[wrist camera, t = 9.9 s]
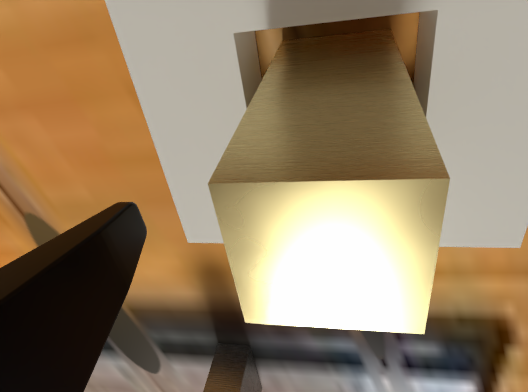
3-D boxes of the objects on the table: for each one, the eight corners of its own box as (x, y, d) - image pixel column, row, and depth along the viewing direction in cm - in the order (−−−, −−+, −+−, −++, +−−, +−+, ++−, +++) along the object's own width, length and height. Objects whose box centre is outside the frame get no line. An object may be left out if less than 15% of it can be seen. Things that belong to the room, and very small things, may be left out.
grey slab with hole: (587, -149, 10) (658, -168, 8) (496, 202, 17) (520, 247, 15) (130, -64, 13) (84, -60, 11) (206, 204, 20) (187, 242, 18)
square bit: (390, 29, 14) (450, 178, 6) (385, 128, 16) (424, 334, 8) (282, 40, 15) (207, 183, 7) (292, 133, 17) (245, 322, 9)
